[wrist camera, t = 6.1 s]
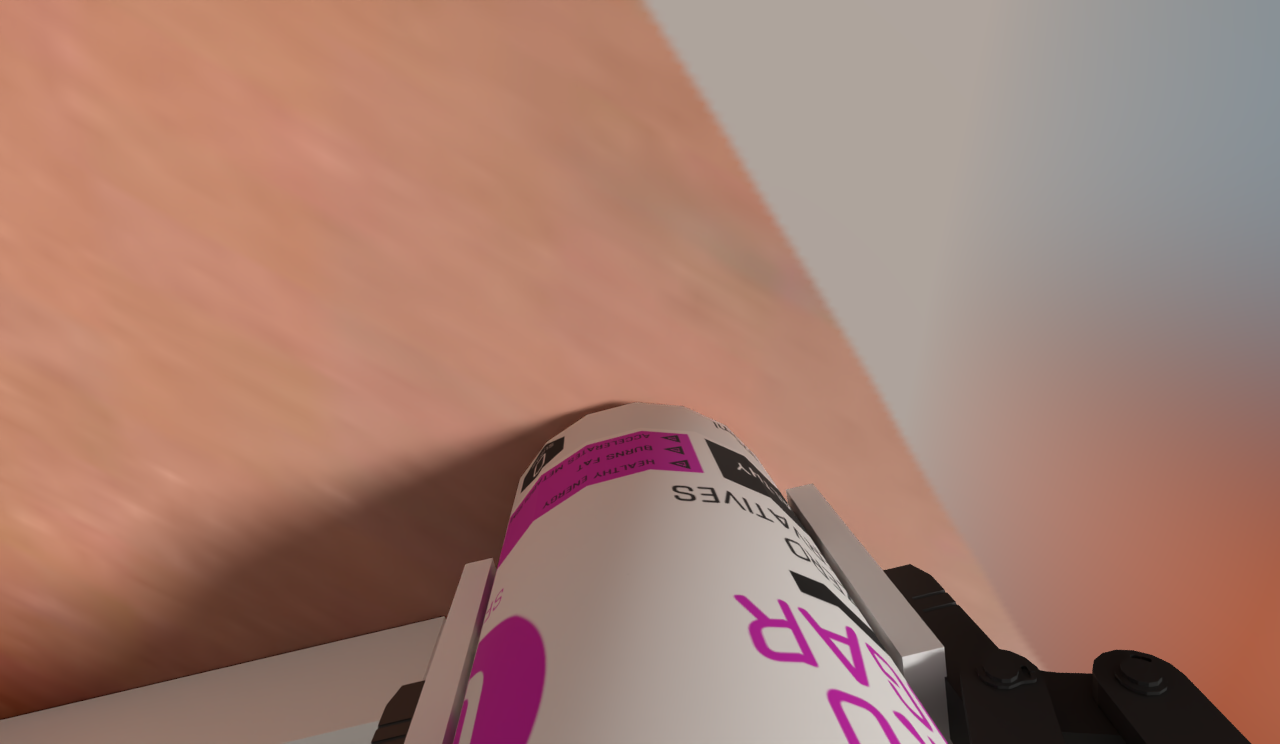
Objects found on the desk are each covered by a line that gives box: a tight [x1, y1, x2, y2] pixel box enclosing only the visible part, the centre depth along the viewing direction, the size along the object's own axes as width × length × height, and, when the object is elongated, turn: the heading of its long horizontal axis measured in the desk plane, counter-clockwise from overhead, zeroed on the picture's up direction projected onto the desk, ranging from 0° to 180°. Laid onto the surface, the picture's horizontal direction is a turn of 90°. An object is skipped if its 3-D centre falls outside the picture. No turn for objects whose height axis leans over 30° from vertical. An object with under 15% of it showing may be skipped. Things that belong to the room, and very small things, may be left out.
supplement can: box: [453, 402, 948, 744], centre depth 13 cm, size 8×8×15 cm
